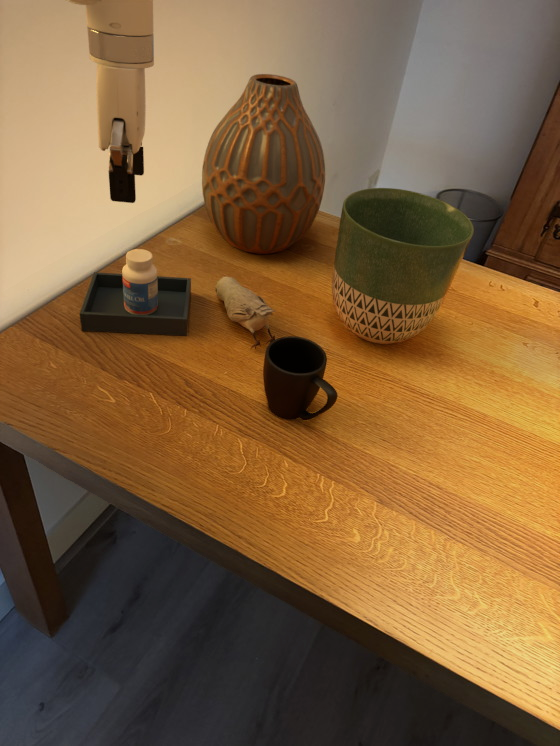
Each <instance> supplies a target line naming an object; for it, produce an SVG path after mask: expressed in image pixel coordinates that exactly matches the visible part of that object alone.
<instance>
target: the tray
mask: <svg viewBox="0 0 560 746" xmlns="http://www.w3.org/2000/svg"><path fill="white" fill-rule="evenodd" d="M157 279H158V307H157V309H156V311H154V312H153V313H151V314H149V315H135V314H131V313H129V312H128V311H127V310H126V309H125V306H124V293H123V278H122V273H114V272H113V273H111V272H97V271H96V272H95V271H94V272H93V274H92V277H91V280H90V281H89V285H88V289H87V290H86V294H85V296H84V299H83V302H82V305H81V308H80V311H79V322H80V326H81V331H82V332H99V333H118V334H119V333H120V334H137V335H138V334H140V335H141V334H142V335H157V336H158V335H159V336H160V335H161V336H178V337H179V336H181V337H187V336H188V330H189V318H190V308H191V307H190V306H191V298H192V297H191V294H192V278H191V277H179V276H178V277H176V276H175V277H174V276H161V275H160V276H159V275H157Z"/></svg>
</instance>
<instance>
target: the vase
mask: <svg viewBox="0 0 560 746" xmlns="http://www.w3.org/2000/svg"><path fill="white" fill-rule="evenodd" d="M300 95H301V94H300V90H299V87H298V83H297V82H296V80H294V79H292V78H290V77H286V76H284V75H278V74H272V73H271V74H270V73H258V74H254V75H252V76H250V78H249V79H248V81H247V84H246V85H245V88H244V90H243V92H242V93H241V95H240V97H239V98H237V101H236V102H235V103H234V104H233V105H232V106H231V107H230V108H229V110H228V111H227V112H226V113H225V114H224V116H223V117H222V118H221V120H220V121H219V122H218V123H217V125H216V126H215V128H214V129H213V132H212V133H211V136H210V137H209V141H208V142H207V146H206V149H205V153H204V157H203V162H202V171H201V189H202V197H203V203H204V206H205V210H206V213H207V216H208V218H209V221H210V224H212V225H213V227H214V229H215V230H216V232H217V233H218V234H219V235H220V236H221V237H222V238H223V239H224V240H225V241H226V242H227V243H228V244H229V245H231V246H232V247H234V248H236V249H238V250H240V251H243V252H247V253H251V254H257V255H271V254H276V253H277V254H278V253H280V252H283V251H285V250H287V249H289V248H290V247H292V246H293V245H295V244H297V242H299V241H300V240H301V239H302V238H303V237H304V236H305V235H307V233H308V232H309V230H310V228H311V227H312V225H313V224H314V221H315V220H316V218H317V216H318V213H319V210H320V208H321V205H322V200H323V197H324V193H325V186H326V162H325V154H324V150H323V145H322V142H321V140H320V137H319V135H318V133H317V130H316V129H315V126H314V125H313V122H312V120H311V118H310V117H309V115H308V113H307V111H306V109H305V107H304V104H303V101H302V98H301V96H300Z"/></svg>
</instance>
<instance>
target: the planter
mask: <svg viewBox="0 0 560 746" xmlns="http://www.w3.org/2000/svg"><path fill="white" fill-rule="evenodd" d="M474 229H475V228H474V225H473V223H472V221H471V220H470V219H469V217H468V216H467V215H466V214H465V213H464V212H462V211H461V210H459V209H458V208H457V207H455V206H453V205H451V204H450V203H447V202H446V201H443V200H441V199H439V198H436V197H434V196H431V195H427V194H424V193H421V192H416V191H412V190H407V189H401V188H394V187H372V188H364V189H360V190H357V191H354V192H352V193H350V194H349V195H347V196H346V198H344V200H343V202H342V208H341V213H340V219H339V227H338V234H337V241H336V249H335V255H334V263H333V270H332V277H331V293H332V294H331V295H332V302H333V306H334V310H335V312H336V314H337V316H338V317H339V319H340V321H341V322H342V324H343V325H344V326H345V327H346V328H347V329H348V330H349V331H350V332H351V333H353V334H354V335H356V336H357V337H358V338H361V339H362V340H364V341H368V342H370V343H374V344H380V345H381V344H382V345H389V344H396V343H401V342H405V341H406V340H409V339H412V338H414V337H415V336H418V335H419V334H420V333H421V332H423V331H424V330H425V329H426V328H427V327H428V326H429V325H430V324H431V322H432V321H433V320H434V318H435V317H436V315H437V314H438V312H439V311H440V309H441V307H442V305H443V303H444V301H445V299H446V296H447V294H448V292H449V290H450V288H451V285H452V284H453V282H454V279H455V276H456V274H457V272H458V270H459V268H460V265H461V264H462V261H463V259H464V257H465V255H466V252H467V250H468V249H469V245H470V243H471V241H472V239H473V235H474V232H475V230H474Z"/></svg>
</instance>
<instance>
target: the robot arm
mask: <svg viewBox="0 0 560 746" xmlns="http://www.w3.org/2000/svg"><path fill="white" fill-rule="evenodd" d="M65 1H67V2H69V3H72V4H74V5H79V6H85V16H86V28H87V38H88V53H89V59H90V60H91V61H92V62H94V63H96V112H97V113H96V114H97V136H98V139H97V140H98V148H99V149H100V150H101V151H103V152H105V151H106V150H108V149H109V155H108V156H109V157H108V182H109V199H110V201H112V202H118V203H128V204H134V203H135V202H136V199H137V196H136V176H144V174H145V161H144V160H145V159H144V155H145V154H144V146H143V140H144V137H145V132H146V107H147V105H146V71H145V70H146V69H149V68H151V67H153V66H154V65H155V46H154V45H155V44H154V43H155V41H154V0H65Z"/></svg>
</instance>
